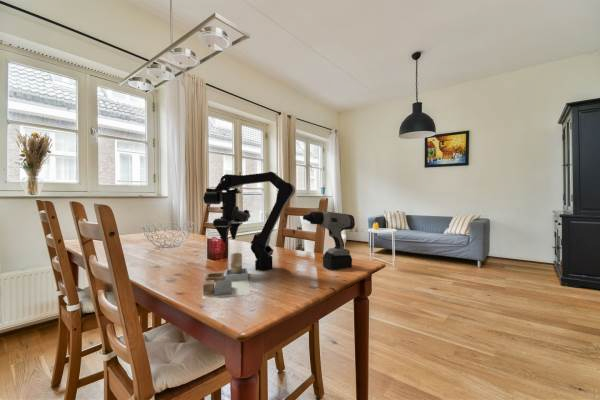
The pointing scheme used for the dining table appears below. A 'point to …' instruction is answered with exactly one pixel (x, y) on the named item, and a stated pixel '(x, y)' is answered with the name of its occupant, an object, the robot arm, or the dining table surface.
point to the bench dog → (208, 287)
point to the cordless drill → (334, 237)
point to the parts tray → (236, 275)
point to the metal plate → (223, 287)
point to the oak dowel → (236, 263)
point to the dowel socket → (215, 276)
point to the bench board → (233, 289)
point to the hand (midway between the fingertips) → (229, 241)
